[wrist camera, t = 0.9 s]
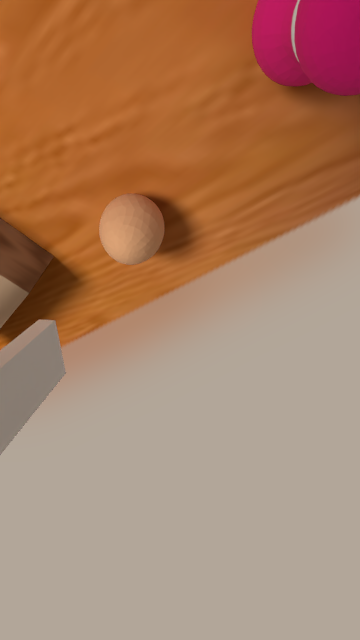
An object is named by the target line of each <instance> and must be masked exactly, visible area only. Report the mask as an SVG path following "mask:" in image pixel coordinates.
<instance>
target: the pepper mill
mask: <svg viewBox="0 0 360 640" xmlns="http://www.w3.org/2000/svg"><path fill="white" fill-rule="evenodd" d="M252 43H253V49H254V53H255V57H256V59H257V62H258V64H259V66H260V67H261V69H262V71H263V72H264V73H265V74H266V75H267V76H268V77H269V78H270V79H271V80H273V81H274V82H276V83H278V84H281V85H285V86H303V85H307V84H310V83H313V84H314V85H315V86H316V87H318V88H320V89H322V90H324V91H325V92H328V93H332V94H336V95H344V96H347V95H357V94H360V0H259V1H258V3H257V7H256V10H255V14H254V19H253V26H252Z"/></svg>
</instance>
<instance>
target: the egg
mask: <svg viewBox="0 0 360 640" xmlns="http://www.w3.org/2000/svg"><path fill="white" fill-rule="evenodd" d="M99 235H100V239H101V242H102V244H103V247H104V249H105V250H106V252H107V253H108V254H109V255H110V256H111V257H112V258H113V259H114V260H116V261H118V262H120V263H123V264H127V265H134V264H139V263H142V262H144V261H146V260H148V259H149V258H151V257H152V256H153V255H154V254H155V253H156V252H157V250H158V249H159V247H160V245H161V243H162V240H163V236H164V220H163V216H162V214H161V212H160V210H159V208H158V207H157V206H156V204H155V203H154V202H153V201H151V200H150V199H149V198H147V197H145V196H143V195H139V194H124V195H121V196H119V197H117V198H115V199H114V200H113V201H111V202H110V203H109V204H108V205H107V207H106V208H105V210H104V212H103V214H102V217H101V220H100V226H99Z"/></svg>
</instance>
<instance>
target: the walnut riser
mask: <svg viewBox="0 0 360 640" xmlns="http://www.w3.org/2000/svg"><path fill="white" fill-rule="evenodd" d="M53 257H54V256H52V255H51V254H50V253H48V252H47V251H46V250H44V249H43V248H41V247H40V246H39V245H37V244H36V243H34V242H33V241H32V240H30V239H29V238H27V237H26V236H25V235H23V234H22V233H20V232H19V231H18V230H16V229H15V228H13V227H12V226H11V225H9V224H8V223H6V222H5V221H4V220H2V219H1V218H0V328H1V327H2V326H3V324H4V323H5V322H6V321H7V320H8V318H9V317H10V316H11V315H12V314H13V312H14V311H15V310H16V309H17V307H18V306H19V305H20V304H21V303H22V301H23V300H24V299H25V298H26V297H27V295H28V294H29V293H30V291H31V290H32V288H33V287H34V285H35V284H36V282H37V281H38V279H39V278H40V276H41V275H42V273H43V272H44V271H45V269H46V268H47V266H48V265H49V263H50V262H51V260H52V259H53Z"/></svg>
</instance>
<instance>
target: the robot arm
mask: <svg viewBox="0 0 360 640" xmlns="http://www.w3.org/2000/svg"><path fill="white" fill-rule="evenodd" d="M65 373H66V372H65V367H64V362H63V357H62V352H61V347H60V342H59V337H58V332H57V327H56V322H55V320H40V319H39V320H38V321H36V322H35V323H34V324H33V325H31V326H30V327H29V328H28V329H26V330H25V331H24V332H23V333H21V334H20V335H19V336H18V337H16V338H15V339H14V340H13V341H11V342H10V343H9V344H8V345H6V346H5V347H4V348H3V349H1V350H0V455H1V453H2V452H3V451H4V450H5V448H6V447H7V446H8V445H9V443H10V442H11V441H12V439H13V438H14V437H15V436H16V435H17V433H18V432H19V431H20V430H21V428H22V427H23V426H24V425H25V423H26V422H27V421H28V419H29V418H30V417H31V416H32V414H33V413H34V412H35V411H36V410H37V408H38V407H39V406H40V404H41V403H42V402H43V401H44V400H45V398H46V397H47V396H48V395H49V393H50V392H51V391H52V390H53V388H54V387H55V386H56V385H57V383H58V382H59V381H60V380H61V378H62V377H63V376H64V375H65Z"/></svg>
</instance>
